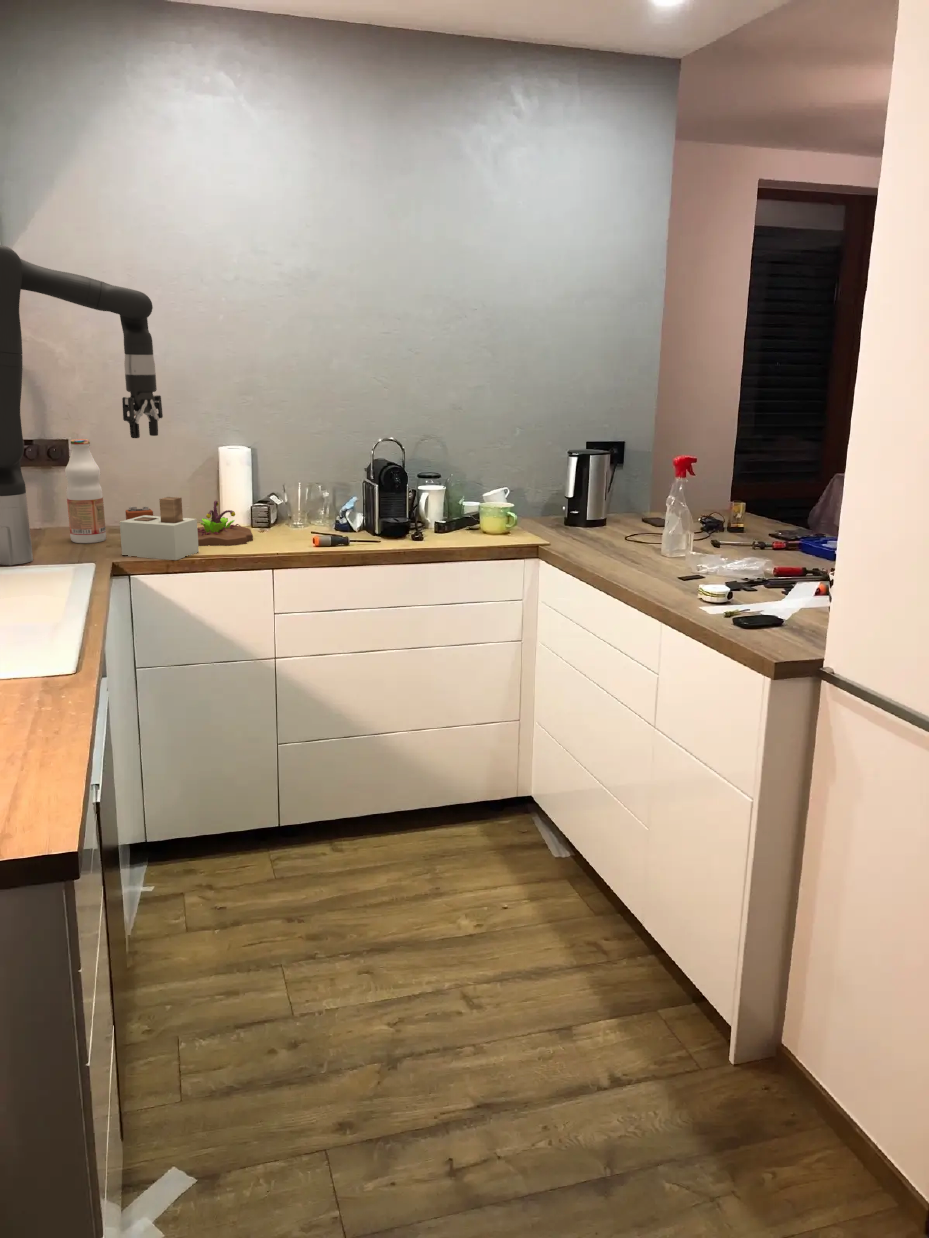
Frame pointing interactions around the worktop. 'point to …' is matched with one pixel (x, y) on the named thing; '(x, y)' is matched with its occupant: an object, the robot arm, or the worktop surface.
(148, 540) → the socket block
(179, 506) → the peg
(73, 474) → the fruit juice
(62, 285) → the robot arm
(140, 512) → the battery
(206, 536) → the plant
